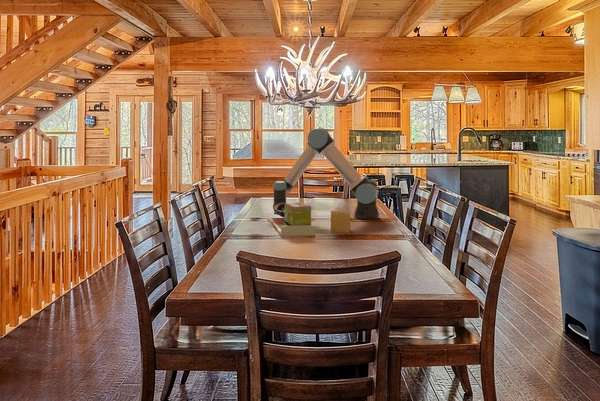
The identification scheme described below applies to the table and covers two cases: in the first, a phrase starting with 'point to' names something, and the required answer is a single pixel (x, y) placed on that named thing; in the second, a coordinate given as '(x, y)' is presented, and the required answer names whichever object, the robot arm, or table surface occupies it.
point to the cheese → (340, 222)
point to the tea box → (297, 214)
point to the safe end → (297, 230)
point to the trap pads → (279, 221)
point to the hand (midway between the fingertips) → (290, 215)
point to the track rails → (273, 223)
